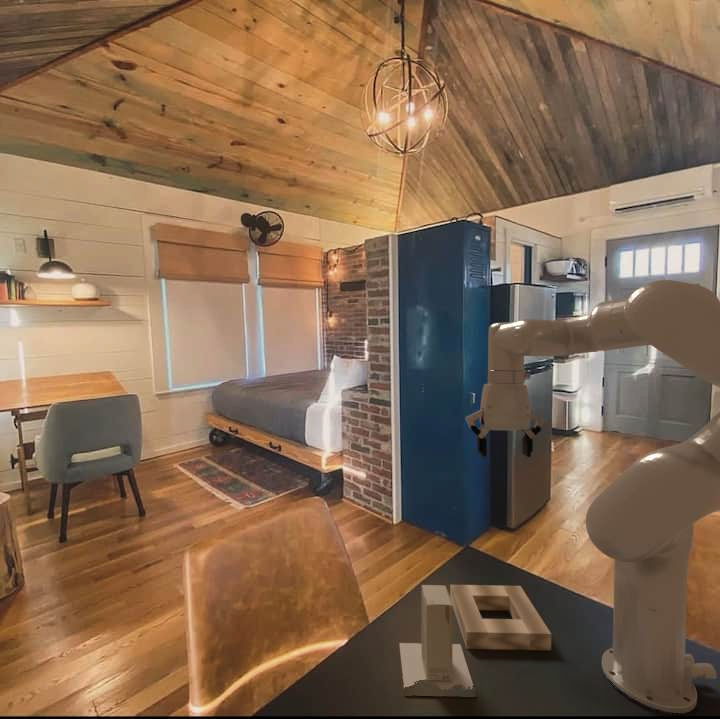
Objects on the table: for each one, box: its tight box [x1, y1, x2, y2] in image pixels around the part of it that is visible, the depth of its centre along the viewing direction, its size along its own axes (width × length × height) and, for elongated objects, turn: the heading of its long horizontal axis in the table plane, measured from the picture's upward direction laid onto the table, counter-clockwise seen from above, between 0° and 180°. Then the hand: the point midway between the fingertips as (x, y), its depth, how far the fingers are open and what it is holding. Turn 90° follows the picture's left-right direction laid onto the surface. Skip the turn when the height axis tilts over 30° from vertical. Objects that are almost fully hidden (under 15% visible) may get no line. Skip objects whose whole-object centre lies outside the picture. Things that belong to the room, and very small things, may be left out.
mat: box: [398, 642, 475, 690], centre depth 69 cm, size 11×11×1 cm
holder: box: [449, 584, 552, 651], centre depth 81 cm, size 15×15×3 cm
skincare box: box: [421, 584, 453, 681], centre depth 69 cm, size 6×4×12 cm
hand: (504, 455), depth 91 cm, fingers open, 9 cm apart
